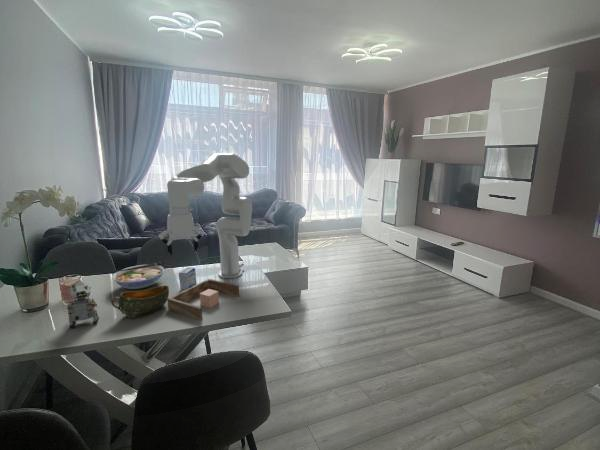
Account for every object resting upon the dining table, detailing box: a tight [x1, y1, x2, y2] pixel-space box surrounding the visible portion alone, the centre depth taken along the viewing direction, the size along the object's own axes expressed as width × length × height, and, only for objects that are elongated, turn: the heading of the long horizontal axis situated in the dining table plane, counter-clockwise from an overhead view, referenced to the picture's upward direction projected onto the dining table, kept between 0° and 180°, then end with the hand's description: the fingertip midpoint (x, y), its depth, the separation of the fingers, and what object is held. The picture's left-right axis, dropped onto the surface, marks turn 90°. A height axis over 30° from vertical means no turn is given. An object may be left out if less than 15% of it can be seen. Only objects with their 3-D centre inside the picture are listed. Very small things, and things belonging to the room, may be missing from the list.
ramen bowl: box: [108, 261, 165, 290], centre depth 157 cm, size 25×23×8 cm
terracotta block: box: [199, 289, 220, 309], centre depth 139 cm, size 6×6×6 cm
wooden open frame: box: [166, 278, 240, 321], centre depth 140 cm, size 24×18×5 cm
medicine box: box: [178, 266, 197, 291], centre depth 156 cm, size 8×4×9 cm, turn 168°
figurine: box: [66, 282, 100, 330], centre depth 123 cm, size 9×12×15 cm
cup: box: [110, 285, 170, 319], centre depth 132 cm, size 13×20×10 cm, turn 107°
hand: (183, 251), depth 131 cm, fingers open, 9 cm apart
